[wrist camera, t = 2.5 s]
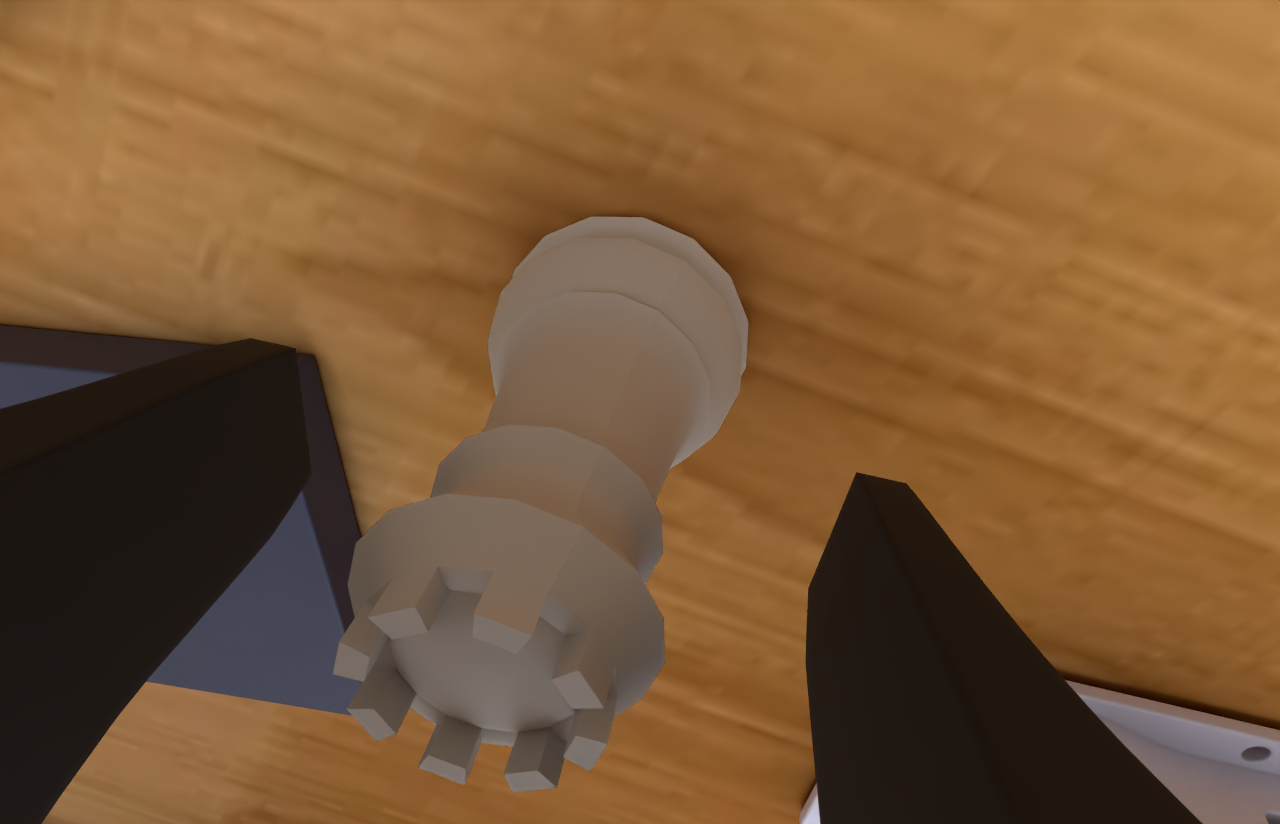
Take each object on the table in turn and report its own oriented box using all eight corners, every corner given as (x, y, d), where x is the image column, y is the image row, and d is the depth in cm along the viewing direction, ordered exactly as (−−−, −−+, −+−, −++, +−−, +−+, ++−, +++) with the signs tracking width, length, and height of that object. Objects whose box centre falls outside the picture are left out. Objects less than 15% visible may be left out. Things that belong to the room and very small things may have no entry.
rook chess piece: (583, 151, 11) (307, 402, 5) (802, 303, 12) (837, 707, 5) (473, 350, 14) (183, 709, 7) (663, 467, 14) (566, 893, 8)
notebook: (314, 353, 14) (271, 390, 13) (396, 672, 20) (370, 719, 18) (-250, 299, 16) (-337, 327, 15) (-37, 605, 21) (-87, 644, 20)
